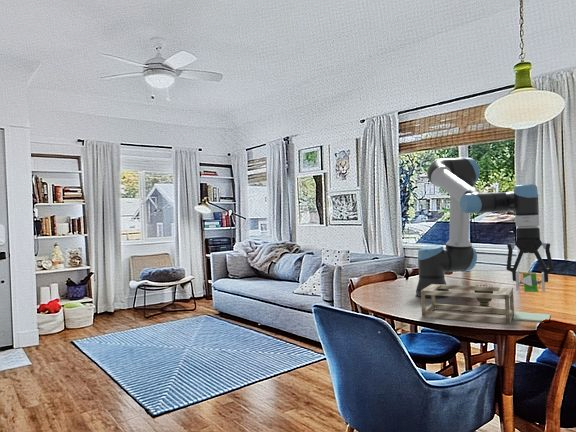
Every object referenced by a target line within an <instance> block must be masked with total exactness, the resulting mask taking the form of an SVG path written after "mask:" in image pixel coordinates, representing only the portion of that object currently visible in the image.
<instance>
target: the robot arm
mask: <svg viewBox="0 0 576 432" xmlns="http://www.w3.org/2000/svg"><path fill="white" fill-rule="evenodd" d="M480 171H481V170H480V167H479V164H478V162H477V161H476V160H475V159H474V158H472V157H455V158H454V157H451V158H449V157H448V158H447V157H446V158H443V157H442V158H438V159H436V160H434V161H433V162H431V163H430V164H429V165H428V168H427V171H426V172H427V173H426V175H427V179H428V180H429V182H430V183H431V184H432V185H433V186H434V187H437V188H438V187H439V188H441V189H442V190H444V191H445V192H446V193H448V194H449V197H450V199H449V229H448V230H449V231H448V232H449V233H448V235H449V236H448V238H449V239H448V240H447V242H445V247H444V245H440V244H439V245H438V244H435V245H429V246H428V245H427V246H424V247H421V248H420V249H418V250H417V265H418V266H417V267H418V281H417V284H416V289H415V296H416V295H418V296H417V297H419V296H421V290H423V289H424V288H426V287H428V286H429V285H431V284H440V285H448V284H447V281H446V279H445V273H456V272H458V273H459V272H461V273H464V272H468V271H469V272H470V271H472V270H473V269H474V268H475V266H476V264H477V260H478V253H477V250H476V249H475V247H473V244H472V243H471V242H470V240H469V239H470V237H469V236H470V234H469V233H470V214H473V215H474V214H483V213H487V214H488V213H507V212H508V213H509V212H515V213H514V214H515V215H514V217H515V220H514V221H515V227H517V228H516V229H515V239H516V240H515V242H512V243H507V244H506V246H507V250H508V252H507V261H506V268H505V269H506V270H507V271H509V272H511V277H512V281H513V282H515V287H516V288H515V289H516V291H518V292H519V291H520V284H519V283H520V278H519V277H520V272H519V271H517V270H518V266H520V263H521V260H522V257H523V255H524V254H534V256H535V258H536V259H537V261H538V263H539V266H540V267H541V270H542V272H541V281H542V282H541V290H542V291H541V292H542V293H545V292H546V284H545V283H548V282H549V273H551V272H554V263H553V260H552V254H551V251H550V250H551V249H550V248H551V243H549V242H543V241H541V231H540V227H539V226H540V211H539V192H538V191H539V190H538V186H537V185H536V184H533V183H532V184H531V183H529V184H527V183H526V184H517V185H514V186H513V191H502V192H481V191H479V190H478V189H476V188H475V185H474V184H475V183H476V182H478V181H479V178H480V173H481V172H480ZM541 246H542V247H543V250H545V254H546V259H547V264H548V268H547V266H546V264H545V262H544V260H543V258H542V257H541V256H542V255H541V254H540V253H539V249H540V248H541ZM515 247H516V248H517V249H518V250H519V252H518V254H517V257H516V259H515V262H514V265H513V267H512V260H513V252H514V251H513V250H514V248H515ZM436 291H450V289H437V290H436ZM425 297H429V298H428V299H431V295H425ZM441 297H443V298H447V297H449V296H438V295H435V299H442V298H441Z"/></svg>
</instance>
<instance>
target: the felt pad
mask: <svg viewBox="0 0 576 432" xmlns="http://www.w3.org/2000/svg"><path fill="white" fill-rule="evenodd" d="M545 319H551V314H550V313H538V312H537V313H535V312H525V311H524V312H521V311H516V312H514V316H513V318H512V320H513V321H521V322H534V323H541V322H540V321H542V320H545Z"/></svg>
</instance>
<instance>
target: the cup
mask: <svg viewBox="0 0 576 432" xmlns="http://www.w3.org/2000/svg"><path fill="white" fill-rule="evenodd" d="M476 286H487V287H494V286H493V285H492V286H491V285H487V284H486V285H481V284H480V285H476ZM473 291H474V293H489V294H494V291H479V290H473ZM475 299H476V301H478V302H479V305H480V307H489V306H490V302H491V301H492V300H493V299H492V298H475Z"/></svg>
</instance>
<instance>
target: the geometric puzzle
mask: <svg viewBox="0 0 576 432" xmlns="http://www.w3.org/2000/svg"><path fill="white" fill-rule="evenodd" d="M538 279H539V276H538V275H537V273H536V272H534V273H526V272H525V273H522V276H521V278H520V279H519V287H522V285H523V287H522V289H523V290H524V293H539V290H540V288H541V284H542V280H540V281H539V280H538ZM538 286H539V287H538Z"/></svg>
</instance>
